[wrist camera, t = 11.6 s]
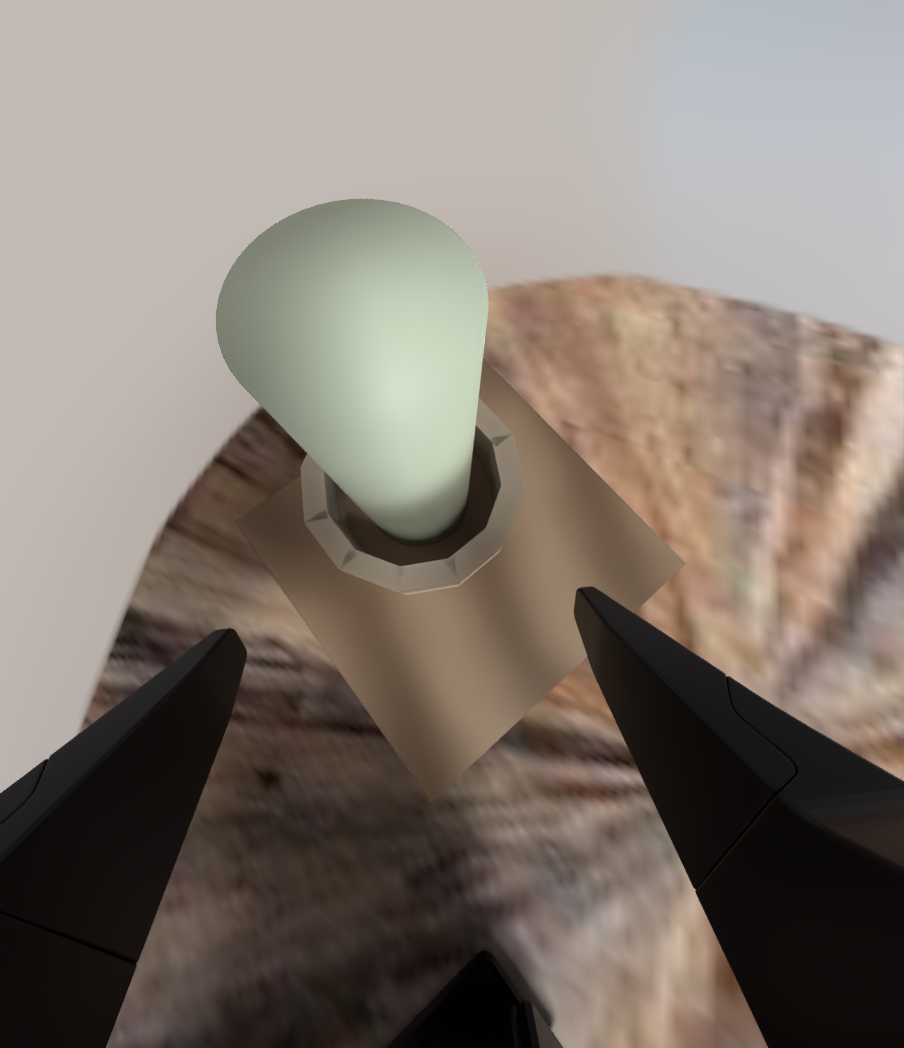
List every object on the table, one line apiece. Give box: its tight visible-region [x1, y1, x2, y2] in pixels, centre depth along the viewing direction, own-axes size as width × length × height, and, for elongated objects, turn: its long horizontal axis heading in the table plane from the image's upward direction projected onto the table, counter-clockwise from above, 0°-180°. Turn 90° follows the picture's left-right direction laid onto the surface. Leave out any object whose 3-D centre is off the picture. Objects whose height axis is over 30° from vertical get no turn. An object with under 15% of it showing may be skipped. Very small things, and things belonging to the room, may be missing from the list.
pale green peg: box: [216, 199, 488, 547], centre depth 12 cm, size 5×5×12 cm
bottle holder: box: [236, 359, 685, 802], centre depth 17 cm, size 16×16×4 cm
